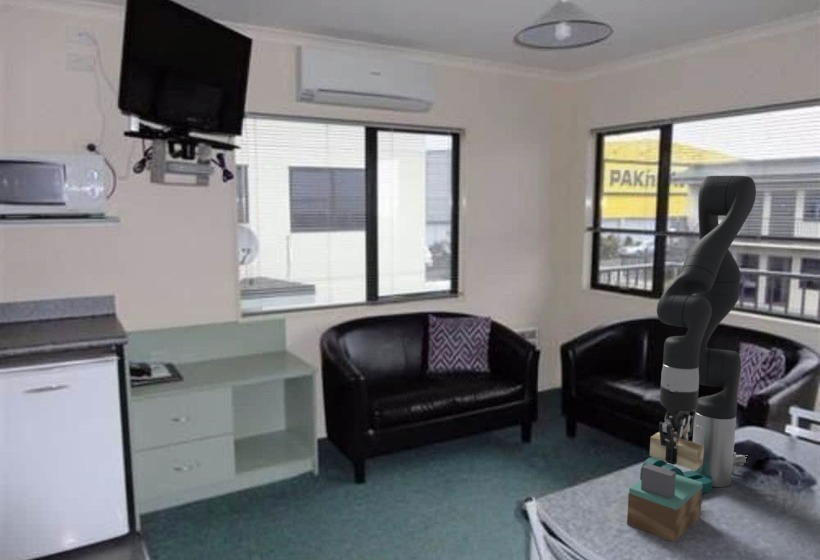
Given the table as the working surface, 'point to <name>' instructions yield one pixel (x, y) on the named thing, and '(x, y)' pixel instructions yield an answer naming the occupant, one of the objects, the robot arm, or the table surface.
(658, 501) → the lid
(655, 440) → the pale wooden block
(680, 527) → the open wooden box
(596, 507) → the table surface
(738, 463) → the caliper
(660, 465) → the bracket
